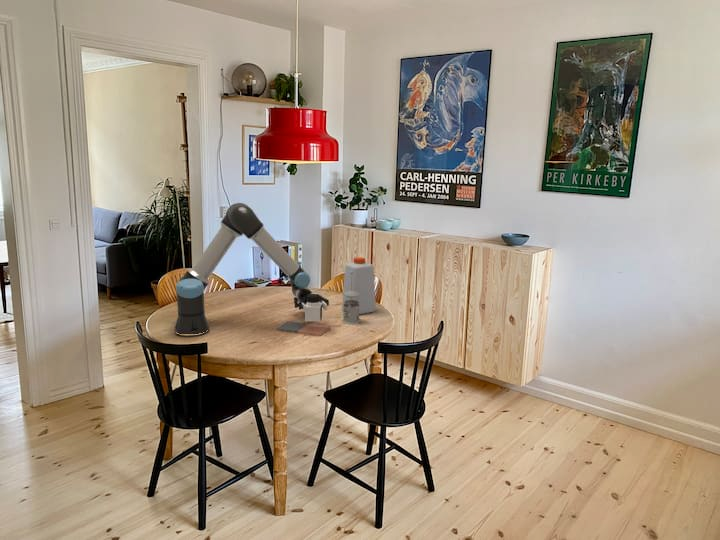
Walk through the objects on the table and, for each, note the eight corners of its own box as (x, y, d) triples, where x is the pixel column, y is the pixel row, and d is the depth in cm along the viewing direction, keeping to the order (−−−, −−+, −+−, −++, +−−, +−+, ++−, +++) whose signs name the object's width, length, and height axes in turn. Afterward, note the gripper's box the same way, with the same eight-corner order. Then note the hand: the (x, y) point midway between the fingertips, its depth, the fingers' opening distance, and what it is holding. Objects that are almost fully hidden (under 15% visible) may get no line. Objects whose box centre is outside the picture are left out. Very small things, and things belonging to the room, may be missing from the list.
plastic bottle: (362, 305, 297) (363, 254, 291) (378, 312, 284) (379, 259, 278) (339, 309, 289) (339, 257, 283) (354, 316, 276) (354, 262, 270)
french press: (343, 324, 262) (344, 274, 257) (338, 317, 273) (338, 269, 268) (363, 323, 265) (364, 273, 260) (357, 316, 276) (357, 268, 271)
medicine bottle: (320, 321, 248) (320, 296, 246) (305, 321, 249) (304, 296, 246) (322, 317, 255) (321, 292, 253) (306, 316, 256) (306, 292, 253)
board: (320, 336, 246) (320, 333, 245) (276, 330, 252) (276, 328, 252) (330, 328, 257) (330, 326, 257) (287, 323, 264) (287, 321, 263)
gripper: (326, 301, 271) (339, 314, 250) (283, 305, 265) (292, 318, 244) (326, 287, 270) (338, 298, 249) (282, 290, 263) (292, 302, 242)
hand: (315, 308), depth 246 cm, fingers closed on medicine bottle, 9 cm apart
